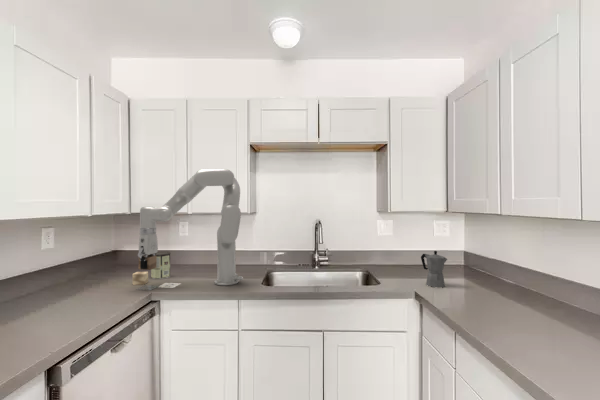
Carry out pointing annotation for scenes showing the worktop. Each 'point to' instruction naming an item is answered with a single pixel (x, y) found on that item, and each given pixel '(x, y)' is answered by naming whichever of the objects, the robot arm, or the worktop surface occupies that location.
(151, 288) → the slate coaster
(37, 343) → the worktop surface
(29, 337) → the worktop surface
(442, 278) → the coffeepot
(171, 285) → the tile
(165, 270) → the coffee can
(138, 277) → the maple block
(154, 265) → the walnut block
